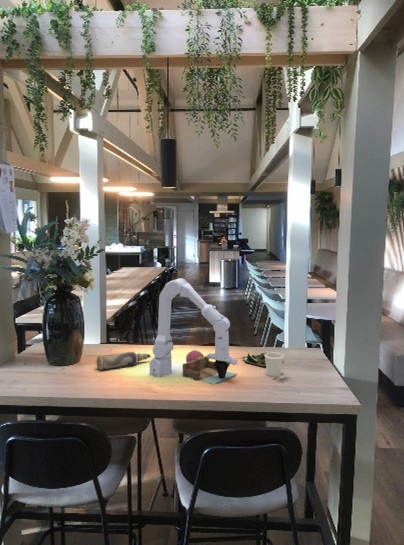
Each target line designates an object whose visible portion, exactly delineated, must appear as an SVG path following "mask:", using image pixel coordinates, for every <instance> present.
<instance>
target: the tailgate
mask: <svg viewBox="0 0 404 545" xmlns="http://www.w3.org/2000/svg"><path fill="white" fill-rule="evenodd" d="M237 376H238V373H236V372H235V373H234V372H229V371H227V372H226V375H225V378H223V379H221V378H219V375H218V374H216V375H213V376H211V377H208V378H206V379H203V380H201V382H203V383H206V384H210V385H213V386H214V385H219V384H222V383H224V382H226V381H229V380H231V379H233V378H235V377H237Z"/></svg>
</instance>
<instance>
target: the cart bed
mask: <svg viewBox="0 0 404 545" xmlns="http://www.w3.org/2000/svg"><path fill="white" fill-rule="evenodd" d="M214 362H215V361H212V360H210V359H208V355H204V357H202V358H199V359H196V360H193V361H190V362H185V363H183V364H182V377H184V378H191V379H193V381H196V382H198V381H200V382H202V380H204V379H207V378H209V377H212V376H214V375H217V374H218V372H217V369H216V367H215V365H214Z"/></svg>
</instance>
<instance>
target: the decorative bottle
mask: <svg viewBox="0 0 404 545" xmlns="http://www.w3.org/2000/svg"><path fill="white" fill-rule="evenodd" d="M150 358H151V354H150V353H136V352H135V351H127V352H118V353H111V354H104V355H97V357H96V367H97V370H99V371H102V370H108V369H109V370H110V369H116V368H122V367H127V366H131V367H133V366H135V365H136V364H138V363H139V362H141V361H144V360H147V359H150ZM132 365H133V366H132Z"/></svg>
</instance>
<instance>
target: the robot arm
mask: <svg viewBox="0 0 404 545" xmlns="http://www.w3.org/2000/svg"><path fill="white" fill-rule="evenodd" d="M178 295H179V296H180V297H184V298H185V297H186V298H188V299H189V300H190V301H191V302H192V303H194V305H195V306H196V307H198V309H200V312H201V315H202V316H203V317H204V318H205V319H206V320H207V322H209V324H210V325H212V327H213V330H214V332H215V333H214V334H215V337H214V344H215V345H214V351H215V352H214V353H212V352H209V353H207V356H208V359H209V360H210V359H211V360H214V361H213V362H214V365H215V367H216V369H217V372H218V375H219V378H221V379H223V378H225V375H226V372H228V369H229V367H230V365H231V364H232V366H235V365H236V366H237V365H238V359H237V358H233V357H232V356H230V353H229V352H230V351H229V350H230V342H229V341H230V338H229V337H230V336H229V335H230V334H229V328H230V327H231V322H230V320H229V319H228V317H226V316H225V315H223V314H221V313H220V312H219V311H218V310H217V309H216V308H217V307H216V306H215V305H212V304H208V303H206V302H205V300H204V299H203V298H202V297H201V296H200V294H198V292H197V291H196V290H195V289H194V288H193V286H192V285H191V283H189V282H188V281H187V280H186V279H184V277H183V278H182V277H179V278H177V279H174V280H170V281H168V282H167V283H165V285H164V287H163V289H162V290H161V292H160V293H159V296H158V297H159V298H158V300H159V301H158V320H157V325H158V326H157V335H156V338H155V341H154V345H153V347H152V354H153V356H154V358H152V359H151V360H150V361H149V376H153V377H156V378H161V377H164V376H169V375H171V374H172V368H173V367H172V351H173V350H174V343H173V339H172V338H173V337H172V336H171V318H172V317H171V316H172V314H171V313H172V300H173V299H174V298H175V297H176V296H178Z"/></svg>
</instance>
